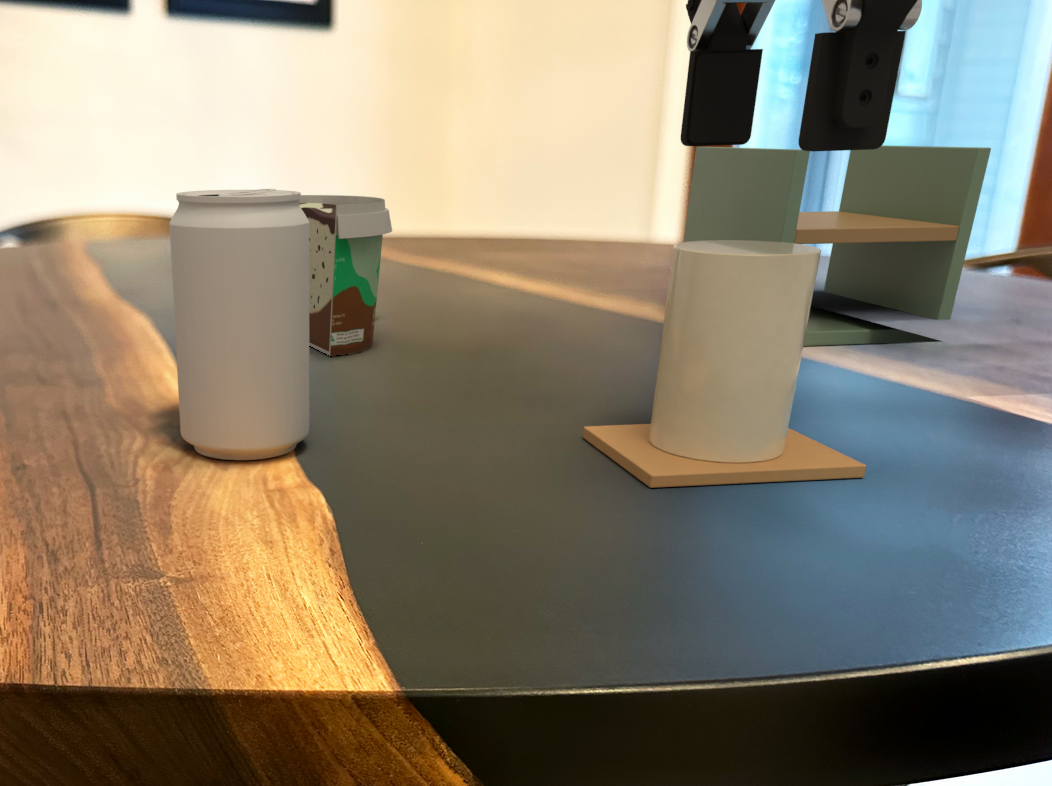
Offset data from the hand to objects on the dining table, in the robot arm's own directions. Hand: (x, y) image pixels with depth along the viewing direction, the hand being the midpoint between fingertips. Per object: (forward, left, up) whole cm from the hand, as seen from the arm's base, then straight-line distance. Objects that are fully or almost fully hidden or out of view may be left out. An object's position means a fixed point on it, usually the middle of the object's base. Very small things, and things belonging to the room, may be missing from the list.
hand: (770, 147), depth 43 cm
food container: (+13, -31, -14) cm, 36 cm away
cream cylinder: (+1, 0, -13) cm, 13 cm away
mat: (0, 0, -14) cm, 14 cm away
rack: (-23, -31, -14) cm, 41 cm away
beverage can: (+22, -5, -14) cm, 27 cm away
